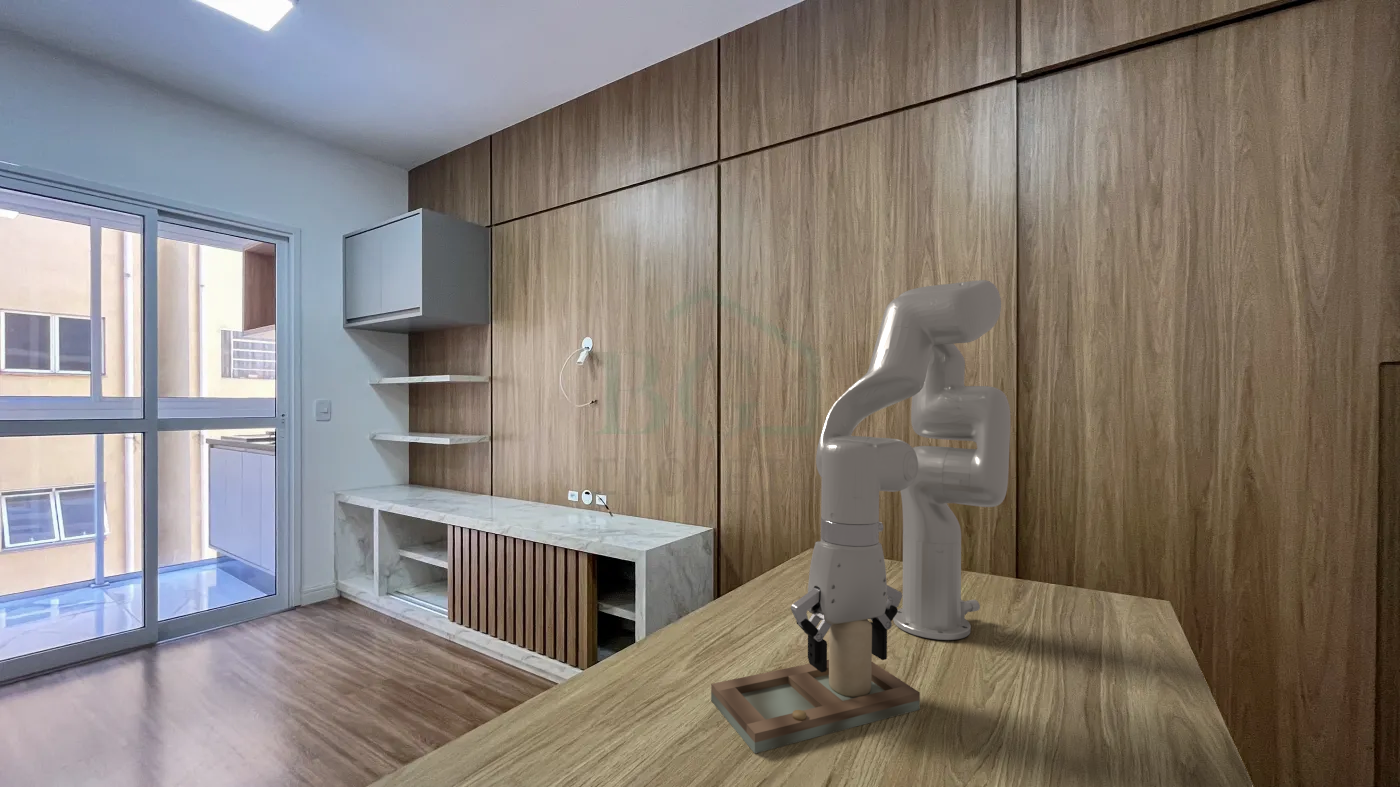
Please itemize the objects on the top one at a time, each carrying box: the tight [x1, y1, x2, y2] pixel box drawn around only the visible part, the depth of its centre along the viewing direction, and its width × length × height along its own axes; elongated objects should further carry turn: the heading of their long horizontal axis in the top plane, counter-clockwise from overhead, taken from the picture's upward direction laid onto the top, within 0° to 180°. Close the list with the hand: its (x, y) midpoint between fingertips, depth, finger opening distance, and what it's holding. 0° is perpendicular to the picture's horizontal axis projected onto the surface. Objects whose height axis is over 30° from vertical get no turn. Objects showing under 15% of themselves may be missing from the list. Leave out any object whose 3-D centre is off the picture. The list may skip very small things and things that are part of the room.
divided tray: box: [710, 659, 921, 754], centre depth 74 cm, size 24×12×3 cm, turn 113°
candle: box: [828, 619, 873, 697], centre depth 76 cm, size 6×6×10 cm
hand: (847, 661), depth 76 cm, fingers open, 9 cm apart
